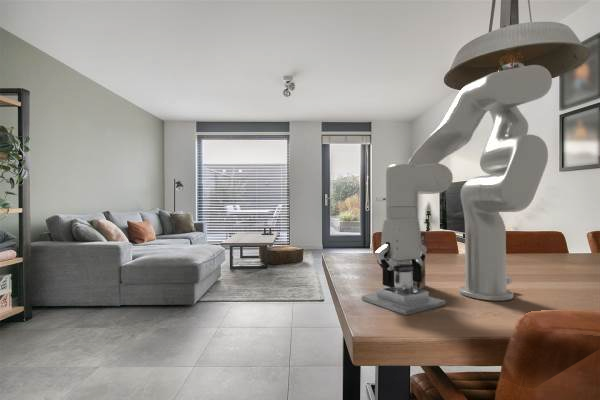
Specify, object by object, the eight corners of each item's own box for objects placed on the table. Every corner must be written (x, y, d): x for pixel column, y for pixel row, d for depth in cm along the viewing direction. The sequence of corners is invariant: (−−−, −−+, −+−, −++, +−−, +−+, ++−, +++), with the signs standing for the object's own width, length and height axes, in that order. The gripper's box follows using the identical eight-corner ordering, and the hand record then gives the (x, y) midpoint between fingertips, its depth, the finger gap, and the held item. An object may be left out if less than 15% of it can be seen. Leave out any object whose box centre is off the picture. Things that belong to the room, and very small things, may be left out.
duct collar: (400, 292, 92) (400, 281, 92) (445, 304, 80) (445, 292, 80) (361, 299, 85) (361, 287, 85) (405, 315, 73) (405, 301, 73)
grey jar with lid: (417, 299, 82) (417, 266, 82) (403, 302, 79) (403, 268, 79) (401, 294, 86) (401, 263, 86) (386, 297, 84) (386, 265, 84)
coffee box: (419, 292, 92) (418, 233, 92) (395, 289, 95) (395, 232, 96) (426, 285, 100) (425, 231, 100) (404, 282, 103) (404, 230, 103)
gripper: (413, 213, 91) (413, 276, 90) (365, 214, 82) (365, 285, 81) (437, 213, 84) (438, 282, 84) (388, 215, 75) (388, 291, 75)
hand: (402, 283), depth 83 cm, fingers open, 9 cm apart
